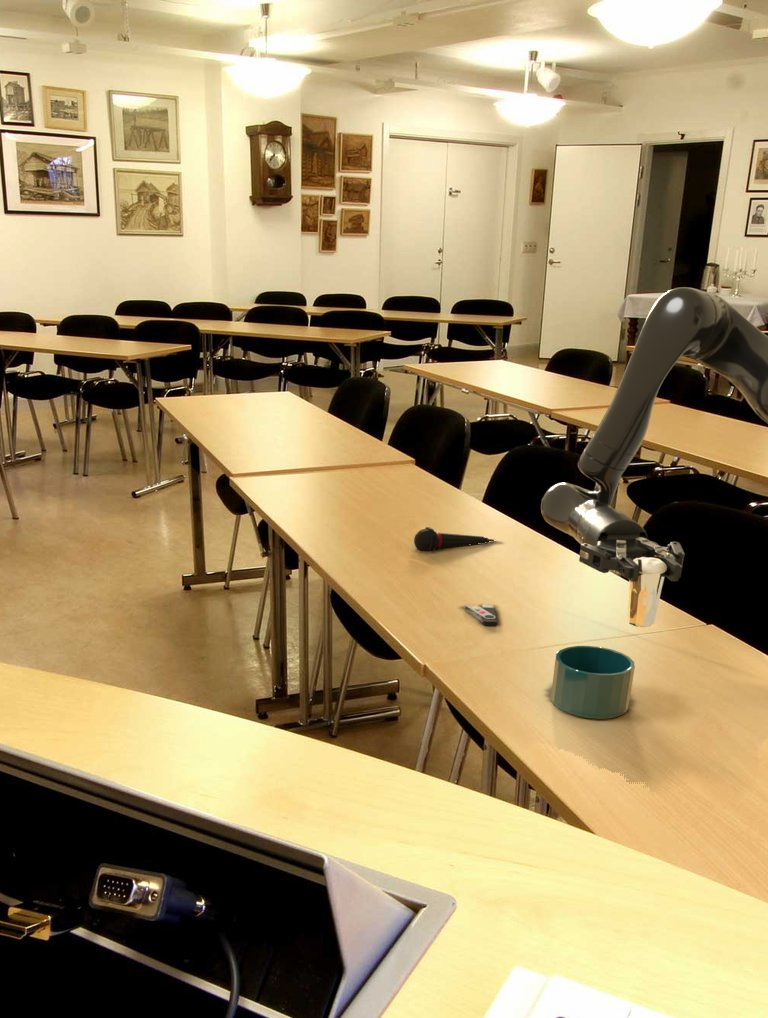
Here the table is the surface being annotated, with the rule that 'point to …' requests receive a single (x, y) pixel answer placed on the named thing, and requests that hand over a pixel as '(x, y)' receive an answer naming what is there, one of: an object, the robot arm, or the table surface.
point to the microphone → (444, 540)
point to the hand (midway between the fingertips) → (656, 574)
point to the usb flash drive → (483, 613)
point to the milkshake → (646, 591)
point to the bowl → (592, 681)
